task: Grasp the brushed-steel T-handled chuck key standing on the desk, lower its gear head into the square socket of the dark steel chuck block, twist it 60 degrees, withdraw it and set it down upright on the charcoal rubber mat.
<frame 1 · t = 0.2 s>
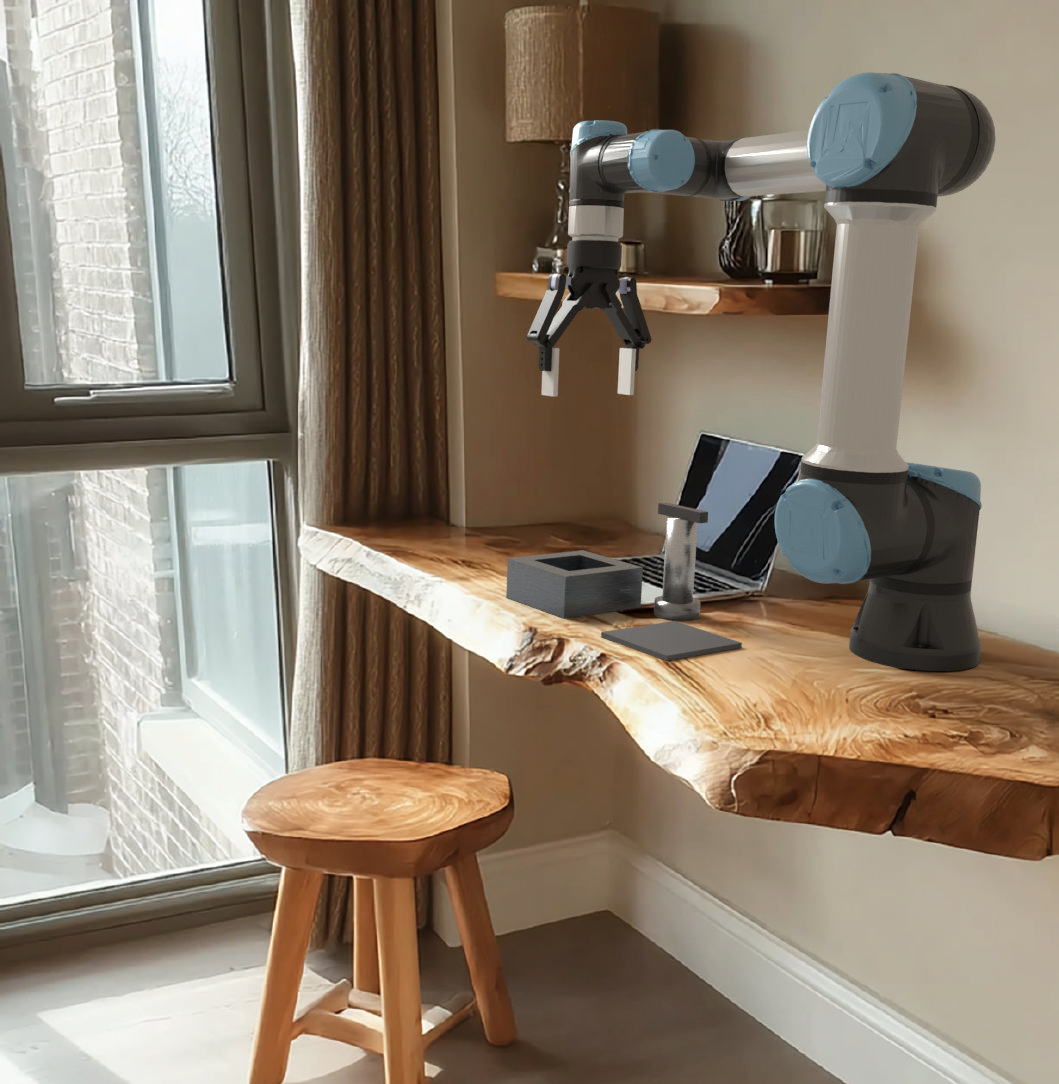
hand: (588, 395, 182), 27 cm above the table, fingers open, 13 cm apart
chuck key: (676, 615, 171), on the table
chuck block: (572, 602, 176), on the table
mat: (670, 642, 157), on the table
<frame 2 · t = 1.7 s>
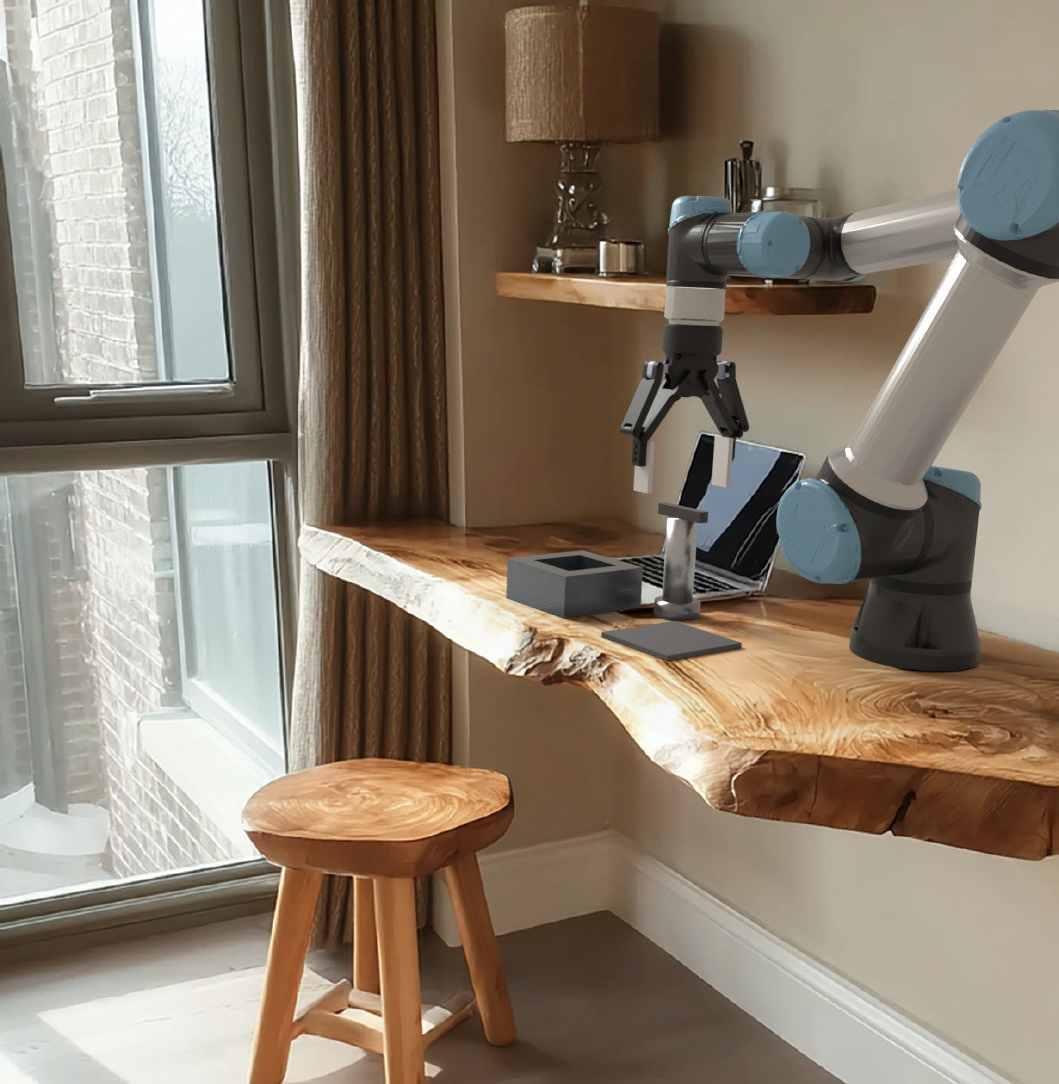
hand: (682, 489, 168), 17 cm above the table, fingers open, 13 cm apart
nothing on the table moved.
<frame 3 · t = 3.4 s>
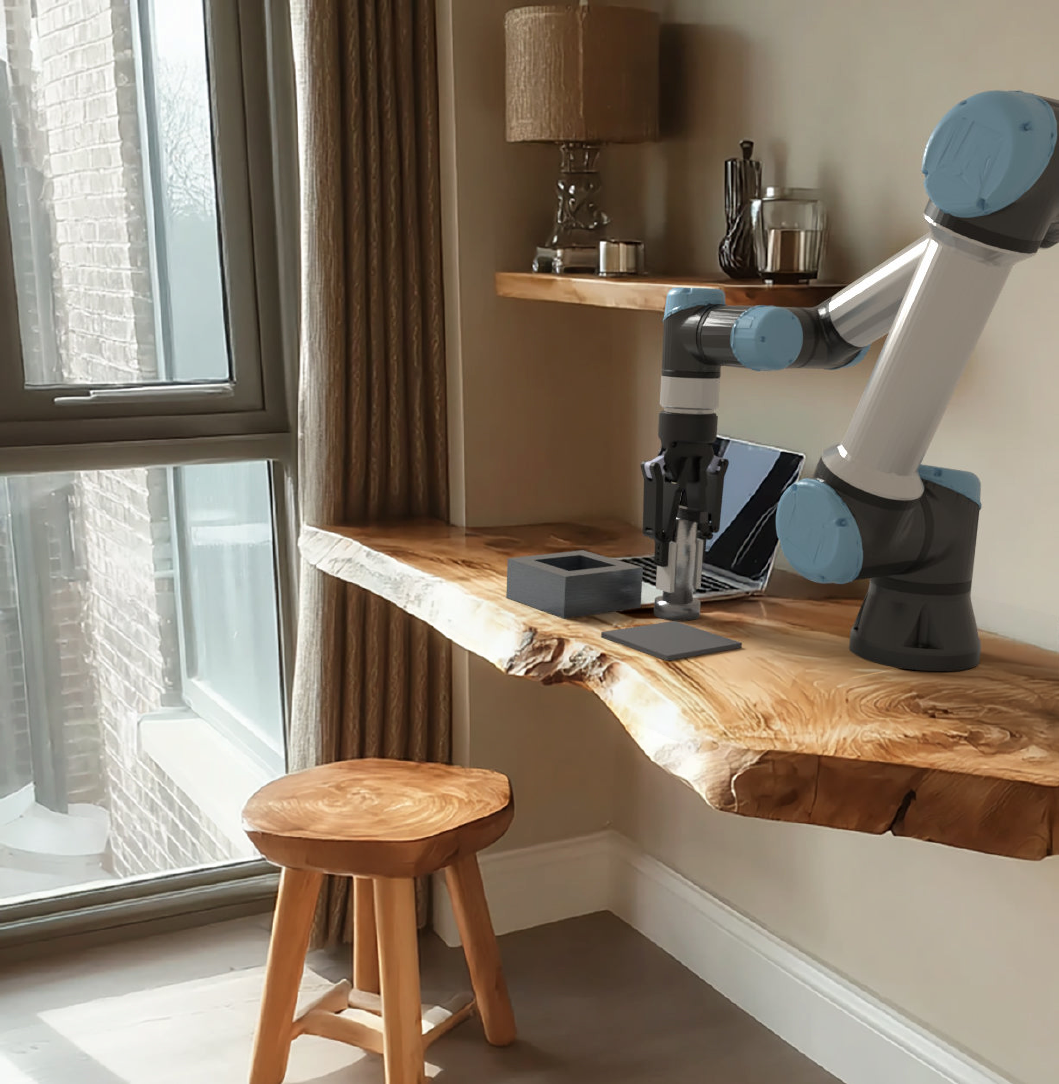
hand: (678, 588, 170), 4 cm above the table, fingers closed on chuck key, 4 cm apart
chuck key: (676, 615, 171), on the table, touching gripper
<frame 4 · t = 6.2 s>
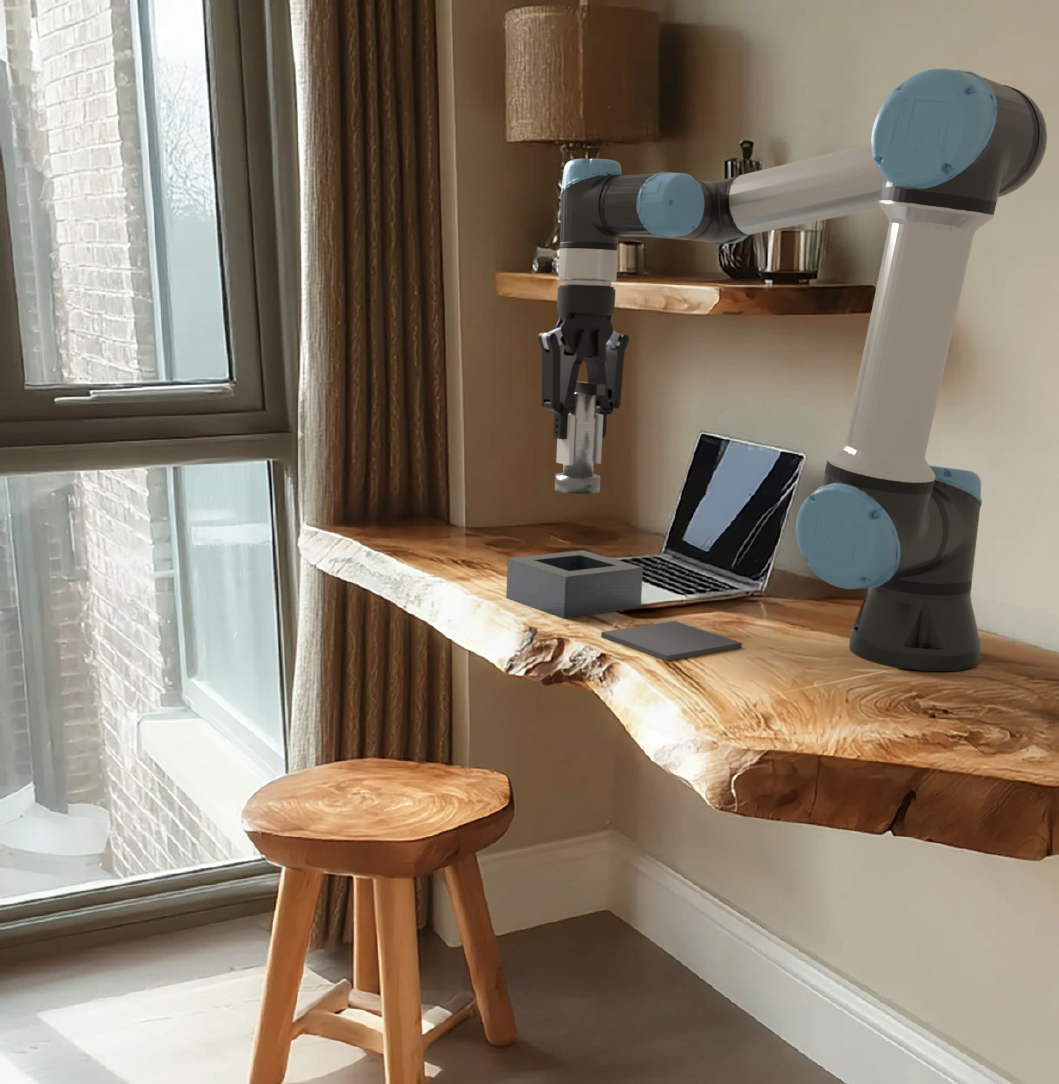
hand: (578, 462, 172), 19 cm above the table, fingers closed on chuck key, 4 cm apart
chuck key: (577, 490, 173), point 15 cm above the table, touching gripper
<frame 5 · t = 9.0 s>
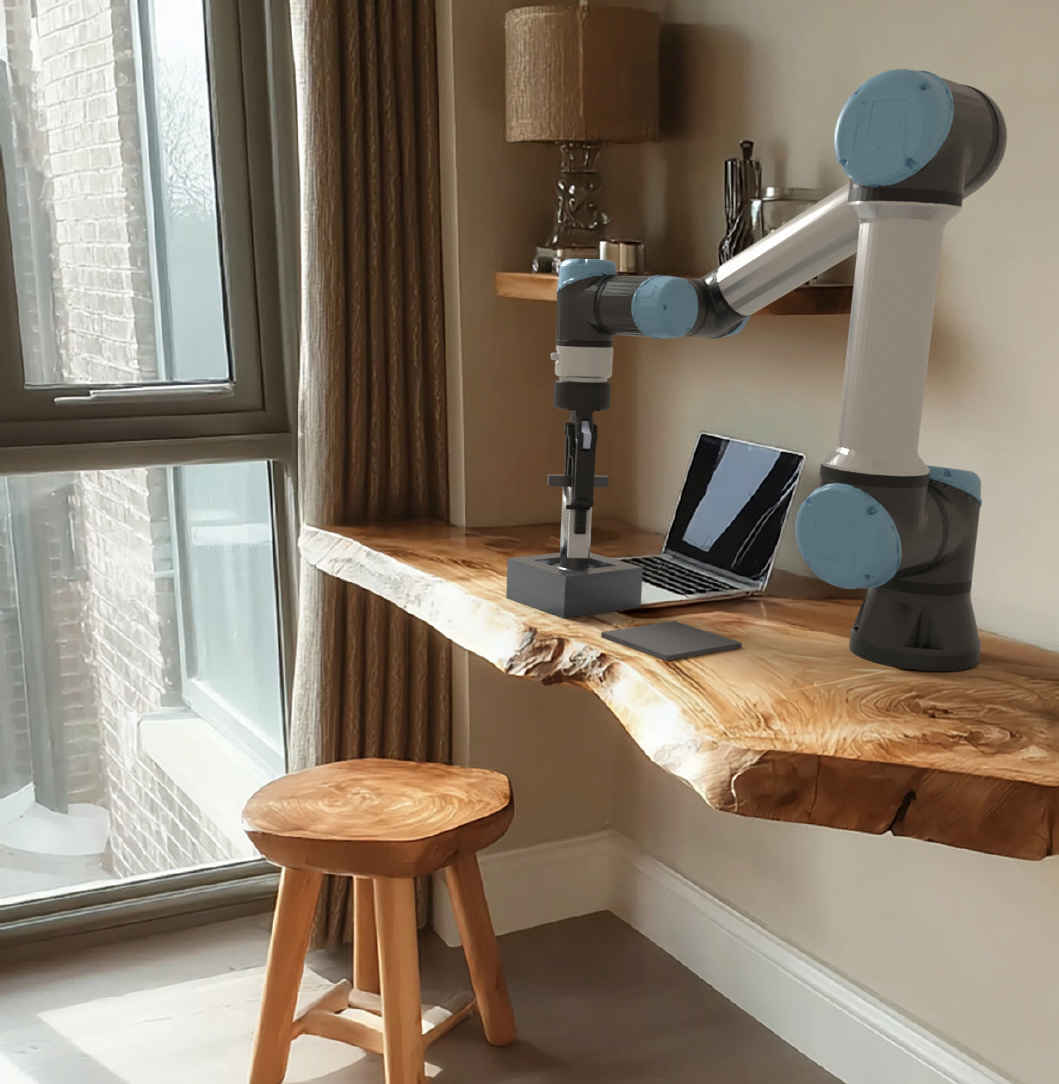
hand: (575, 553, 174), 7 cm above the table, fingers closed on chuck key, 4 cm apart
chuck key: (573, 581, 175), point 3 cm above the table, touching gripper
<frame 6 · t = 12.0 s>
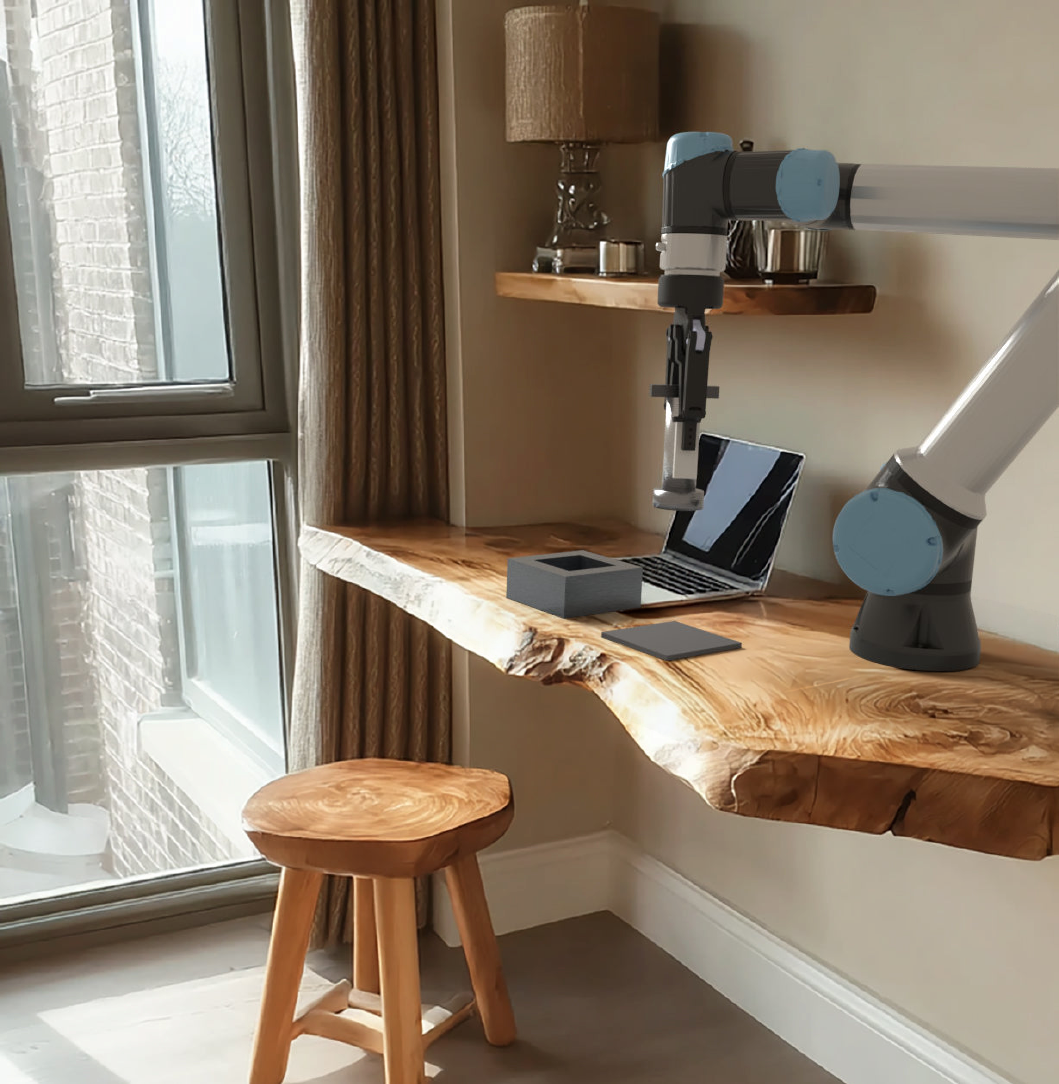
hand: (680, 474, 153), 20 cm above the table, fingers closed on chuck key, 4 cm apart
chuck key: (677, 506, 154), point 17 cm above the table, touching gripper
when the fingers open (5 cm above the table, at t = 14.5 s): chuck key stays where it is, resting on mat.
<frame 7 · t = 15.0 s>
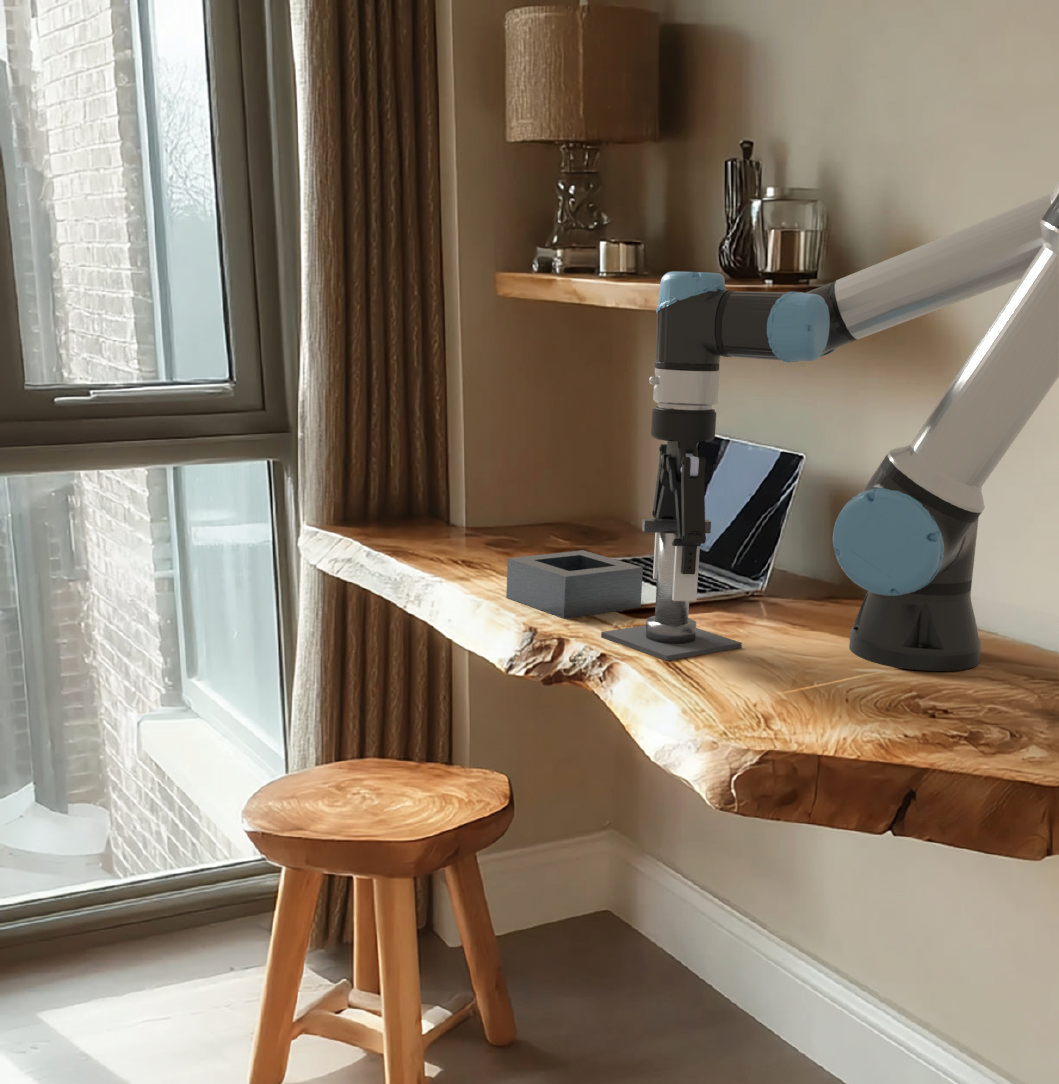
hand: (673, 589, 156), 7 cm above the table, fingers open, 11 cm apart
chuck key: (670, 637, 157), point 1 cm above the table, touching mat
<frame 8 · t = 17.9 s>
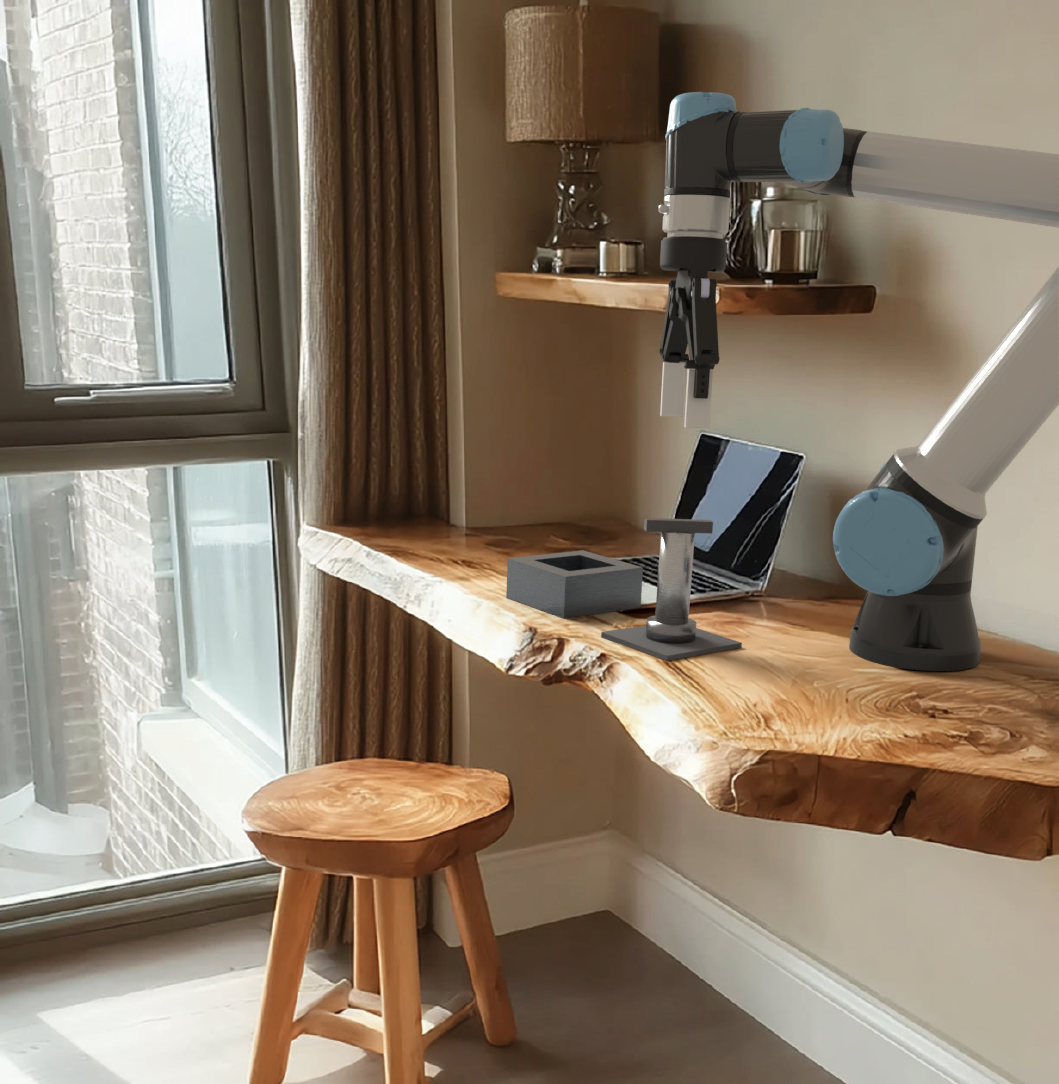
hand: (683, 422, 152), 27 cm above the table, fingers open, 13 cm apart
nothing on the table moved.
at the end: chuck key inside the target area on the mat (0.1 cm from its centre), point 0.6 cm above the mat's base; chuck key tilted 1°; the gripper is holding nothing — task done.
